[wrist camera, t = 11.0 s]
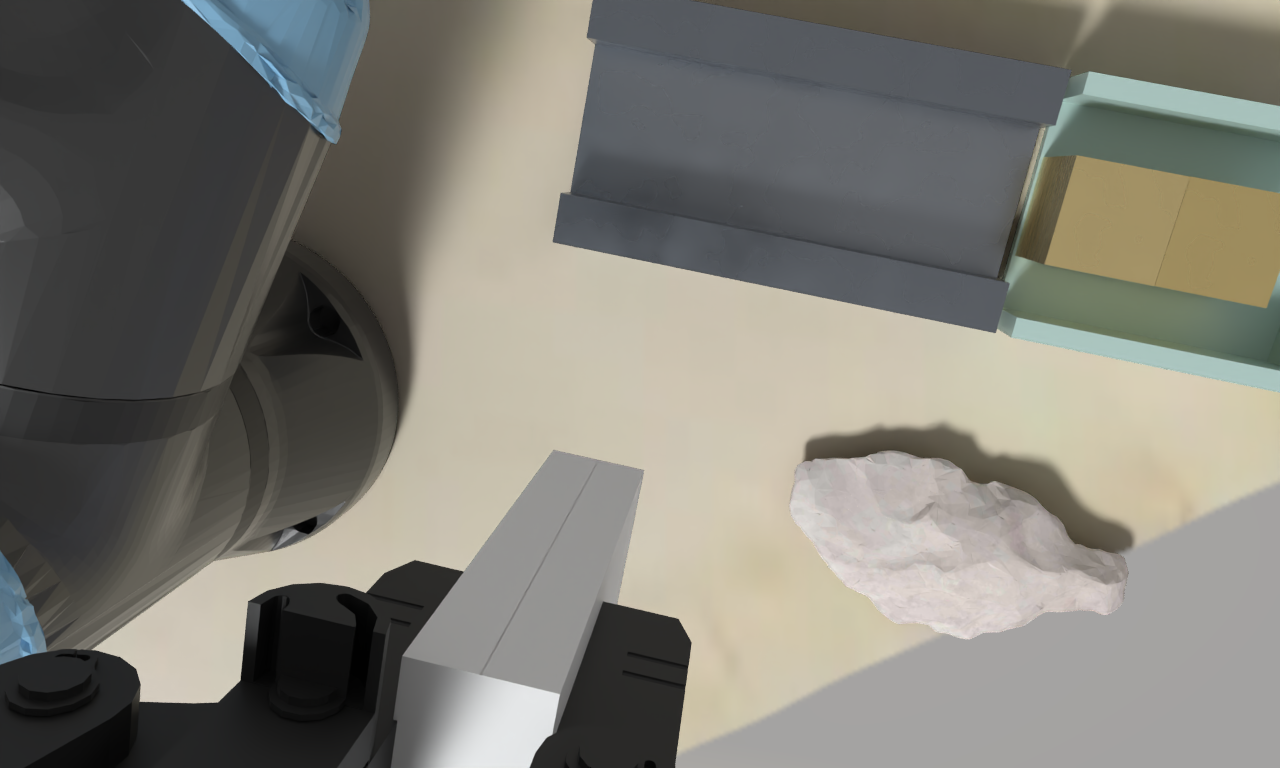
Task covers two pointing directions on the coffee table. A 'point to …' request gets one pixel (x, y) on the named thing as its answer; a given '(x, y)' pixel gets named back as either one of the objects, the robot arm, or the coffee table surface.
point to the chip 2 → (1224, 243)
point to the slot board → (805, 156)
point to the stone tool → (947, 545)
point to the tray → (1137, 313)
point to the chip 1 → (1101, 217)
